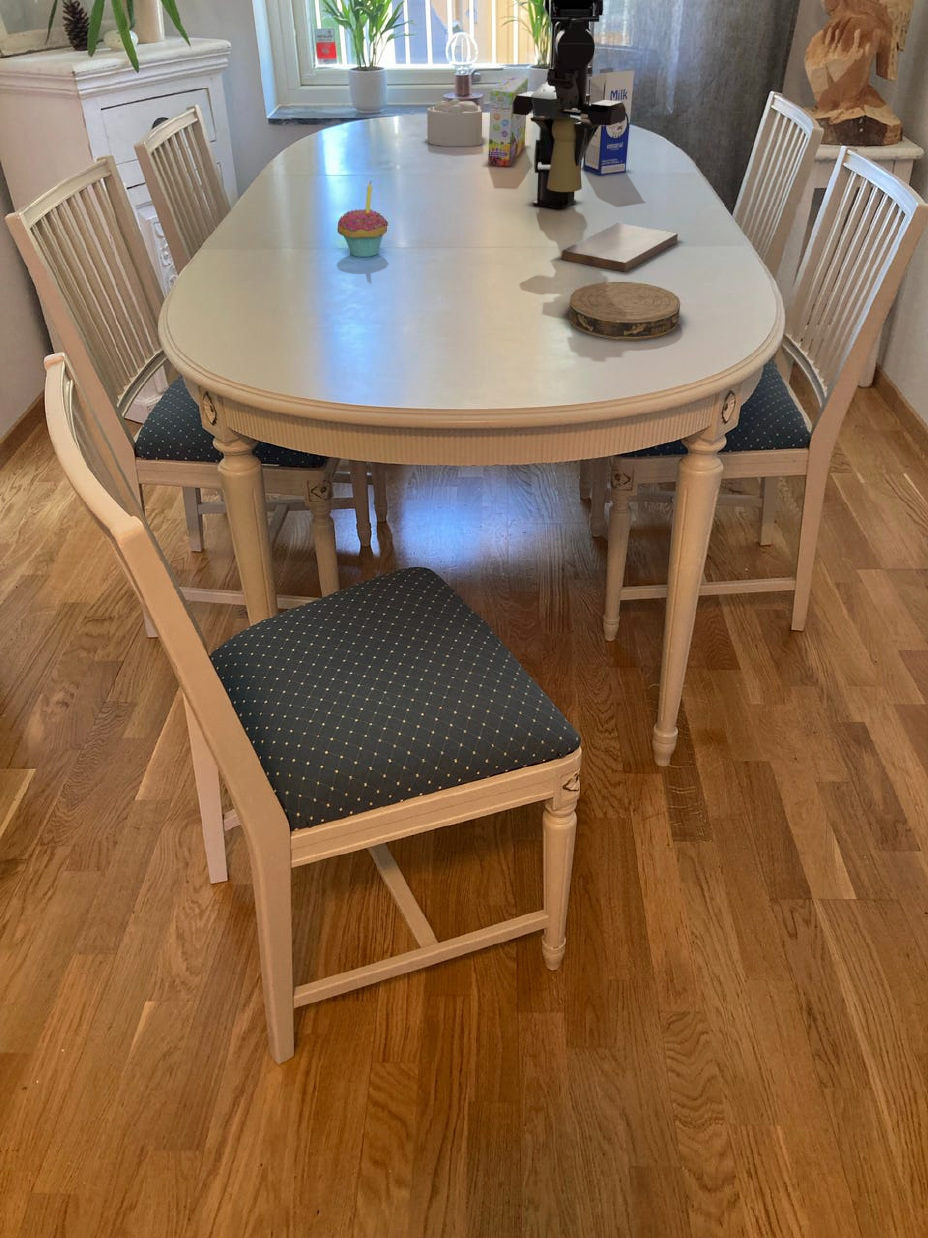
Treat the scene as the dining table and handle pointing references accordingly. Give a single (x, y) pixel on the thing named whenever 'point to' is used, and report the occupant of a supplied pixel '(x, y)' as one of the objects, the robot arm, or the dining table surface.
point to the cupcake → (363, 229)
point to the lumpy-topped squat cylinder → (455, 123)
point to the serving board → (620, 247)
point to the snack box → (506, 122)
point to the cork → (564, 157)
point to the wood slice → (624, 310)
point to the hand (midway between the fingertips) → (565, 163)
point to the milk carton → (610, 140)
